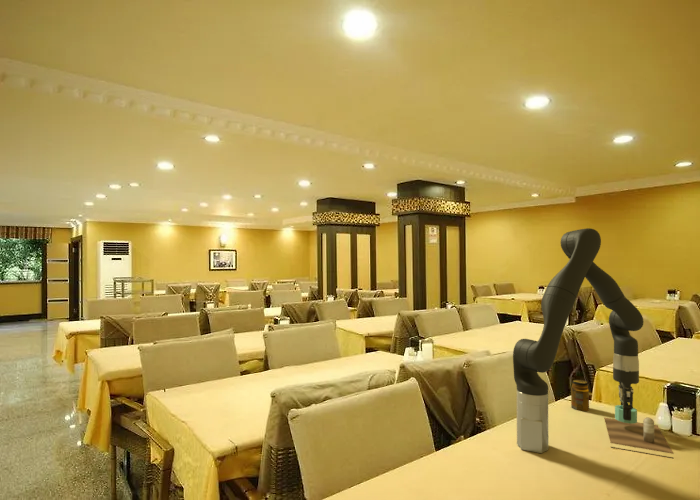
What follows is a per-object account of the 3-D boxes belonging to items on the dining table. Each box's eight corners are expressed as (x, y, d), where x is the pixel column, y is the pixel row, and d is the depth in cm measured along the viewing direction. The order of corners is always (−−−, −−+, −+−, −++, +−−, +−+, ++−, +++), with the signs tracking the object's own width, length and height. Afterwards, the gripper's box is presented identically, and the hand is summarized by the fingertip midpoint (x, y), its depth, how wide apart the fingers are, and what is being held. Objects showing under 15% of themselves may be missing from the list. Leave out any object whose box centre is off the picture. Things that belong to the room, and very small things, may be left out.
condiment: (593, 413, 163) (593, 382, 163) (582, 418, 158) (582, 385, 158) (575, 407, 169) (574, 377, 169) (563, 412, 164) (563, 380, 164)
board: (673, 458, 126) (673, 428, 126) (610, 447, 133) (610, 419, 133) (657, 429, 147) (657, 403, 147) (604, 421, 154) (603, 396, 155)
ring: (638, 424, 141) (638, 412, 141) (616, 421, 144) (616, 409, 144) (635, 418, 147) (635, 407, 147) (614, 415, 149) (614, 404, 150)
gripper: (611, 361, 154) (611, 408, 153) (615, 370, 141) (615, 421, 141) (635, 364, 150) (635, 412, 150) (642, 373, 138) (642, 425, 137)
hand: (625, 416), depth 145 cm, fingers closed on ring, 6 cm apart
